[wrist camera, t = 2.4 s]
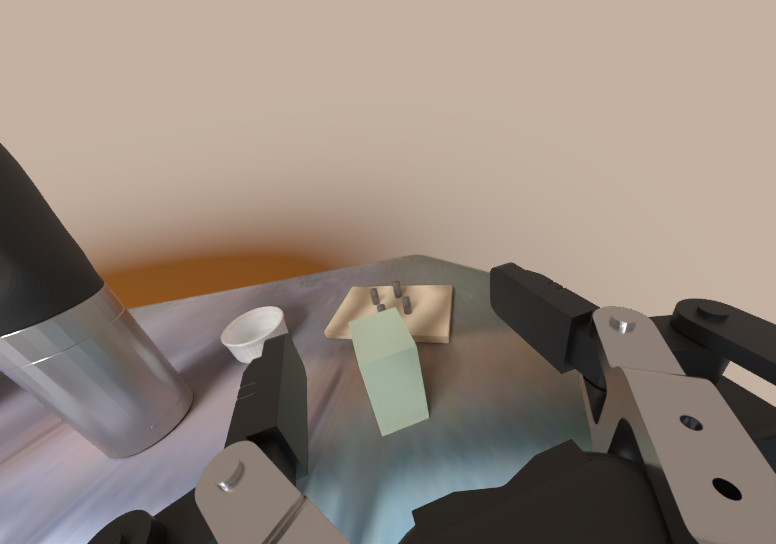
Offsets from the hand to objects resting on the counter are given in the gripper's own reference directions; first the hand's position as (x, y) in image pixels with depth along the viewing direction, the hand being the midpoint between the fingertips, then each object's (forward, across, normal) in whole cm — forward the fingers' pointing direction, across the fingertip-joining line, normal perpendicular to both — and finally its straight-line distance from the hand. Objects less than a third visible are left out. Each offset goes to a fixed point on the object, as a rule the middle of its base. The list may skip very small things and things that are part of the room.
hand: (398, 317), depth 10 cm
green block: (+11, 0, +20) cm, 23 cm away
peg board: (+26, -4, +20) cm, 33 cm away
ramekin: (+29, +16, +20) cm, 39 cm away
